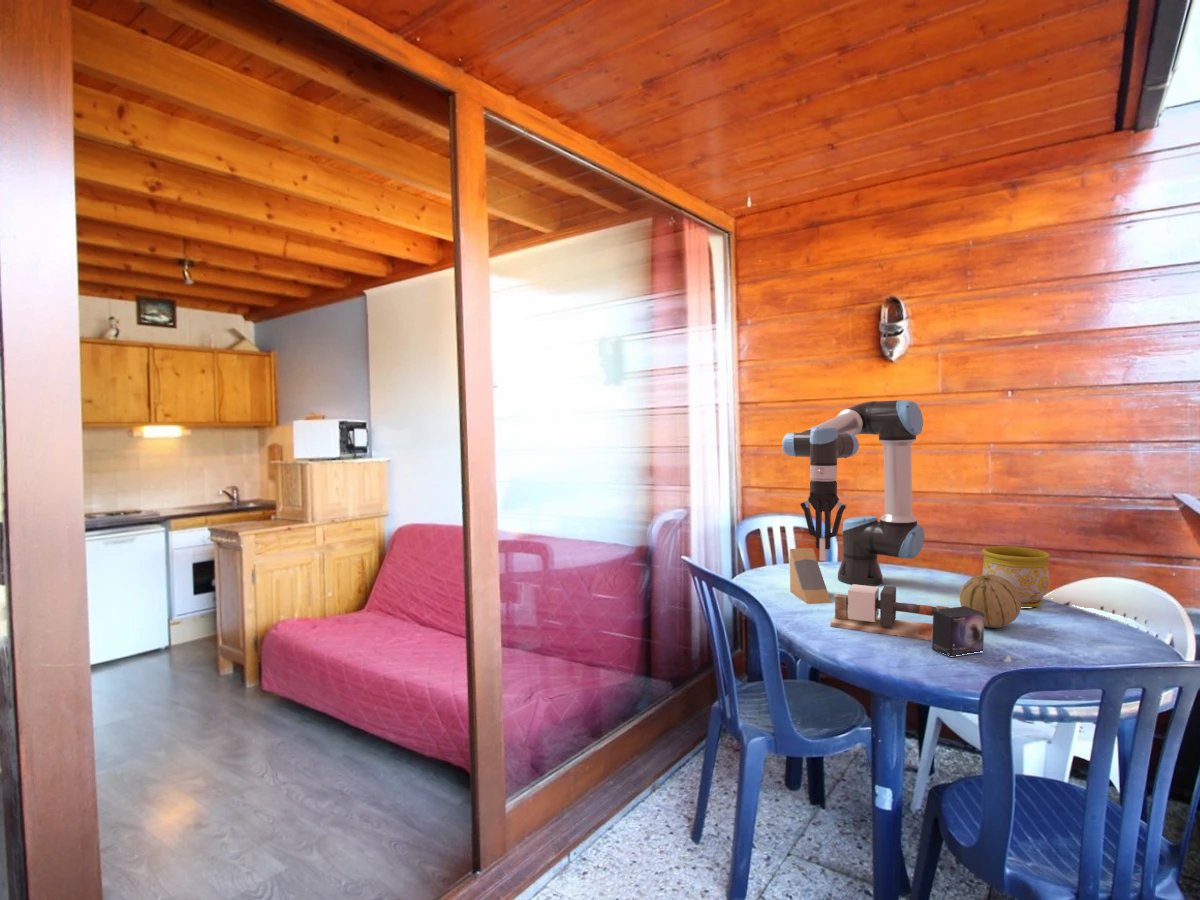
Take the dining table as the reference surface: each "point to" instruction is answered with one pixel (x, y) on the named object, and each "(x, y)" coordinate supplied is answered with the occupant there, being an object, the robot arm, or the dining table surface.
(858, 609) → the sleeve
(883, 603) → the ring
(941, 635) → the small box
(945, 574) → the dining table surface
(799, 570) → the sandwich container
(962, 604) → the cantaloupe
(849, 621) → the rail
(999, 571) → the flowerpot
